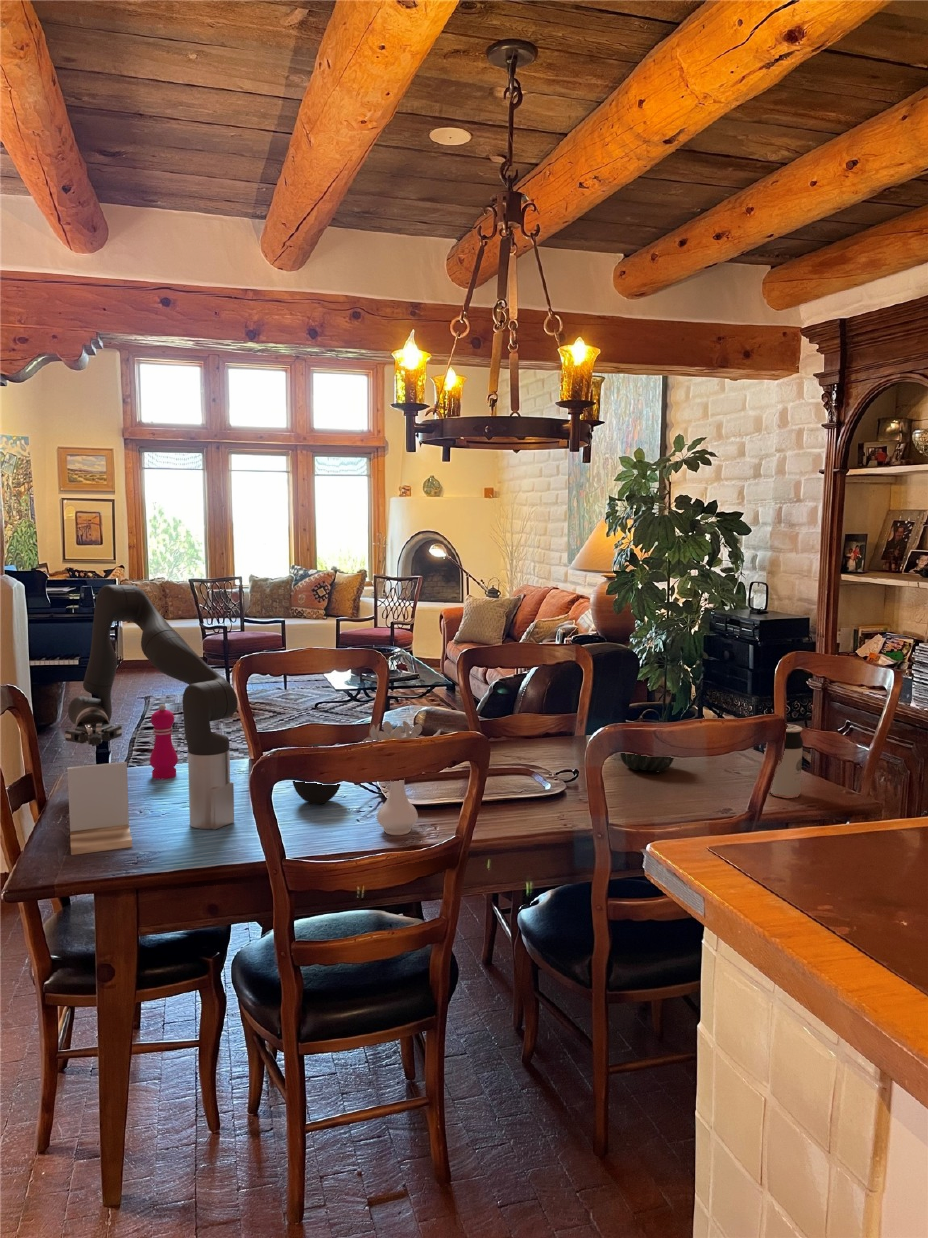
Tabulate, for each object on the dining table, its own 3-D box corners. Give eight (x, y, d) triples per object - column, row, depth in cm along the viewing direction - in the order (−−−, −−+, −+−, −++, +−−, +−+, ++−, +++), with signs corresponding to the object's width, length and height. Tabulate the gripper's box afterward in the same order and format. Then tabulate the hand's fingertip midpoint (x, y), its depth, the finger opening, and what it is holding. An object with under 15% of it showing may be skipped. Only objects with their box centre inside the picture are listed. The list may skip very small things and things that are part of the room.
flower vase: (448, 833, 198) (449, 725, 196) (371, 845, 190) (371, 733, 188) (425, 815, 210) (425, 713, 207) (351, 826, 202) (351, 720, 199)
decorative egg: (352, 803, 219) (352, 744, 217) (313, 815, 210) (312, 753, 208) (321, 792, 227) (320, 735, 225) (281, 803, 218) (281, 744, 216)
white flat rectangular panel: (70, 829, 192) (67, 767, 190) (128, 822, 197) (126, 761, 195) (70, 831, 191) (67, 769, 189) (129, 824, 196) (126, 763, 194)
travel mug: (761, 793, 230) (764, 726, 228) (778, 788, 235) (782, 722, 233) (788, 801, 224) (792, 732, 222) (806, 795, 228) (809, 728, 226)
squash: (609, 743, 258) (626, 713, 248) (656, 742, 262) (674, 713, 251) (622, 785, 249) (640, 755, 238) (670, 783, 253) (690, 755, 242)
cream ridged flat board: (69, 824, 202) (69, 815, 201) (125, 817, 207) (125, 809, 206) (71, 855, 183) (70, 846, 183) (132, 846, 188) (131, 837, 188)
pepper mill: (162, 781, 235) (160, 708, 232) (144, 777, 238) (142, 705, 236) (183, 775, 241) (181, 703, 238) (166, 771, 244) (164, 700, 242)
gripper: (62, 712, 212) (62, 728, 196) (120, 707, 217) (125, 723, 202) (63, 742, 213) (63, 760, 197) (121, 737, 218) (126, 755, 202)
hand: (95, 741), depth 199 cm, fingers closed
